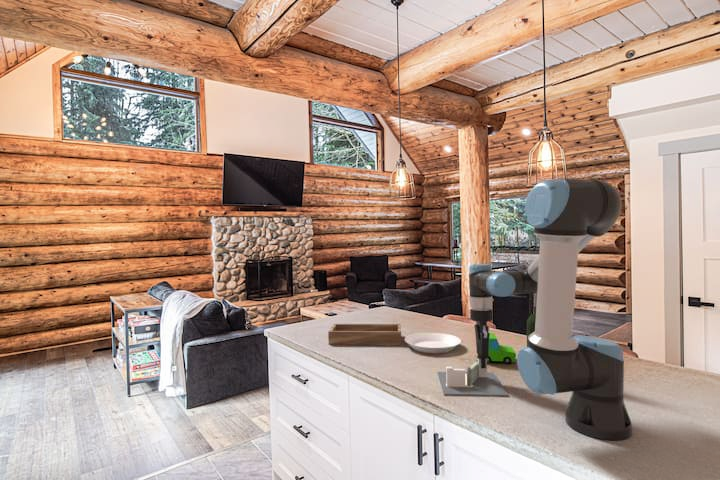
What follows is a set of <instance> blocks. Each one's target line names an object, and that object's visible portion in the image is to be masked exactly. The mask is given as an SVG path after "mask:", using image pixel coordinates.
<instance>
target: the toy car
mask: <svg viewBox="0 0 720 480" xmlns="http://www.w3.org/2000/svg"><path fill="white" fill-rule="evenodd" d="M489 333H490V332H489ZM491 362H502V363H504V364H505V365H510V364H511V363H512V362H514V363H515V362H517V353H516V352H515V350H514V348H513V347H512V346H508V345H502V344H500V343H499V341H498V338H497V335H495V333H490V335H489V351H488V358H487V364H491Z"/></svg>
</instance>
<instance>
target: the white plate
mask: <svg viewBox="0 0 720 480" xmlns="http://www.w3.org/2000/svg"><path fill="white" fill-rule="evenodd" d="M404 341H405V343H407V344H408V345H409V346H410V347H411V348H412V349H413V350H414V351H417V352H421V353H424V354H425V353H426V354H444V353H445V354H446V353H449V352H452V351H453V350H454V349H455V348H456V347H457V346H458V345H459V344H460V343H461V342H462V340H461V339H460V338H459V337H458V336H455V335H454V334H453V335H452V334H449V333H442V332H417V333H413V334H410V335H407V336H405V338H404Z"/></svg>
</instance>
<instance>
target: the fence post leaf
mask: <svg viewBox="0 0 720 480" xmlns="http://www.w3.org/2000/svg"><path fill="white" fill-rule="evenodd" d="M445 372H446V384H447V386H465V372H467V386H471V368H470V366H467V367H466V370H465V368H453V367H452V366H446V367H445Z"/></svg>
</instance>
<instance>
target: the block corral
mask: <svg viewBox="0 0 720 480" xmlns="http://www.w3.org/2000/svg"><path fill="white" fill-rule="evenodd" d="M327 333H328V335H327V336H328V340H327V341H328V345H329V344H333V345H341V346H342V345H343V346H345V345H348V346H350V345H354V346H355V345H357V346H360V345H361V346H363V345H364V346H365V345H366V346H368V345H370V346H402V324H401V323H333V325H331V327H330V328H329V331H328V332H327Z"/></svg>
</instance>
